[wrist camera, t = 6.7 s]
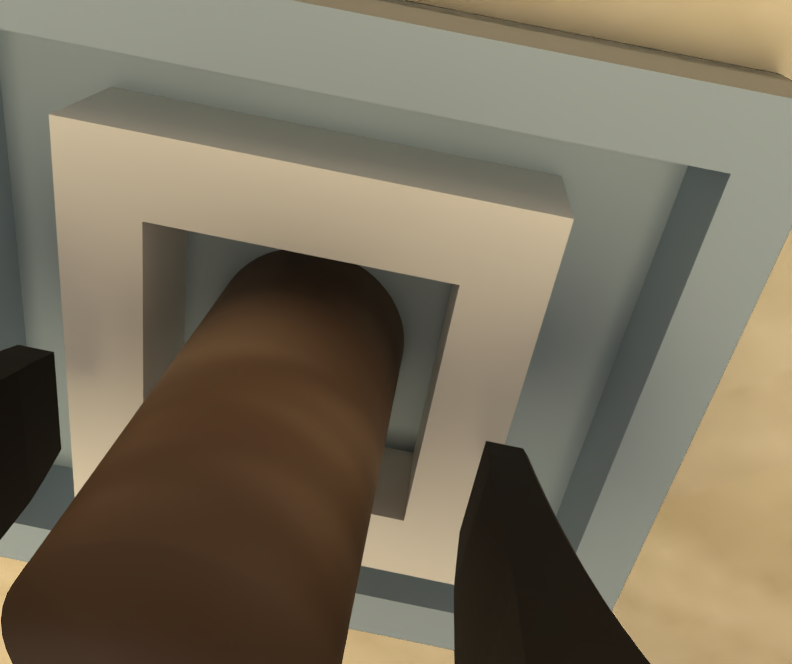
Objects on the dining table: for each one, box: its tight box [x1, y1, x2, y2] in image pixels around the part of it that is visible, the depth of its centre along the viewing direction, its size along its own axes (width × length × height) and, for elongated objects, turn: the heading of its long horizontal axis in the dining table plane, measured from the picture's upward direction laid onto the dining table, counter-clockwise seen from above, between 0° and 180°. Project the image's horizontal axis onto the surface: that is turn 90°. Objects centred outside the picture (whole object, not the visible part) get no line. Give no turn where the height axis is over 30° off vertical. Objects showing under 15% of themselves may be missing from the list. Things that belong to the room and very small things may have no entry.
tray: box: [0, 0, 792, 650], centre depth 15 cm, size 15×13×3 cm
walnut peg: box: [1, 250, 404, 664], centre depth 12 cm, size 4×4×8 cm
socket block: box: [49, 87, 574, 585], centre depth 15 cm, size 8×8×2 cm
